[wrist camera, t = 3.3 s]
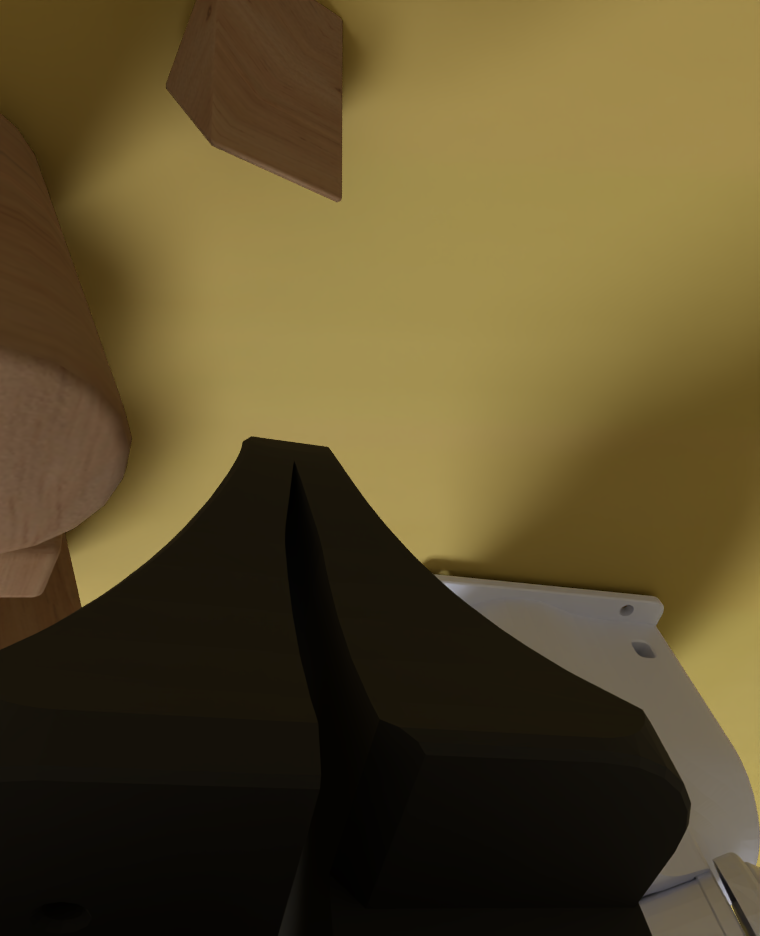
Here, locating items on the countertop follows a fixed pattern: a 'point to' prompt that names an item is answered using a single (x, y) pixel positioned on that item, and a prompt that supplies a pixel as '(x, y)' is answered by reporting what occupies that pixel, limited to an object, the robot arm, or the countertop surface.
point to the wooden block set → (65, 307)
